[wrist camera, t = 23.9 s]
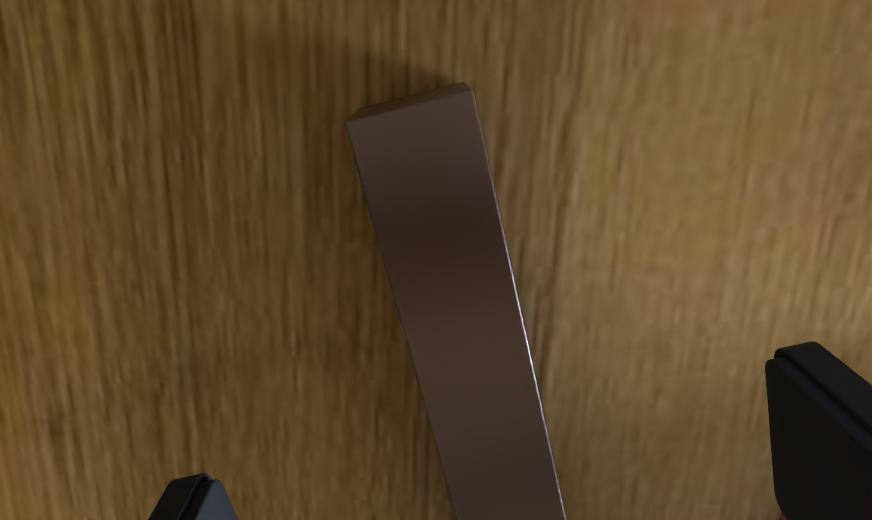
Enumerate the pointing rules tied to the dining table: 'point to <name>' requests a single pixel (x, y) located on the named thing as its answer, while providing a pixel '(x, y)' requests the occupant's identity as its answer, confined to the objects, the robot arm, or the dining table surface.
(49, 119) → the dining table surface
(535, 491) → the stick
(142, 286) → the dining table surface
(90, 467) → the dining table surface
